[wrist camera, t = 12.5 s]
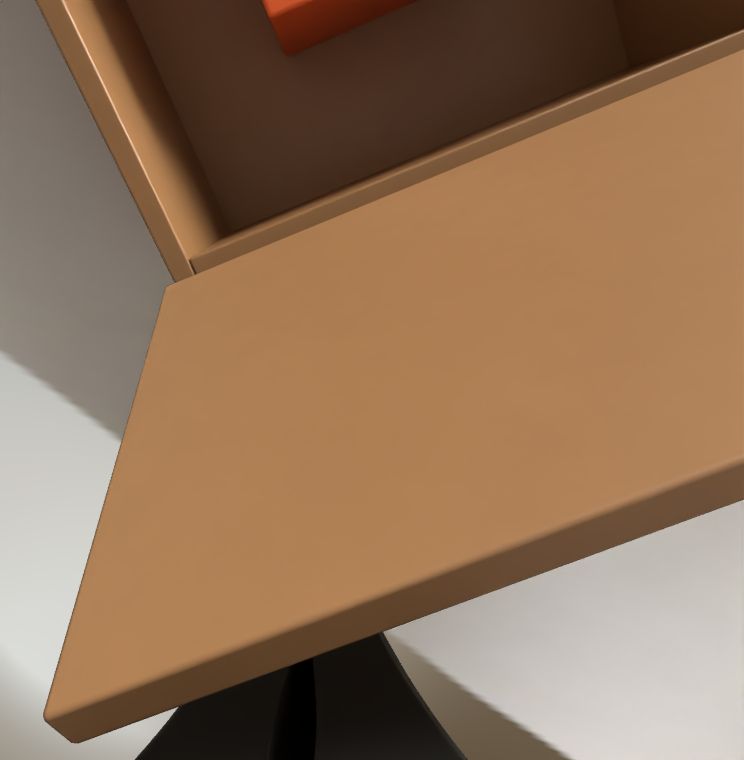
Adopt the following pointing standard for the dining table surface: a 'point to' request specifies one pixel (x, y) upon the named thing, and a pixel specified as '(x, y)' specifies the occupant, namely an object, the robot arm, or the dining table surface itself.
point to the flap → (424, 405)
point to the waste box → (347, 99)
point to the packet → (322, 19)
